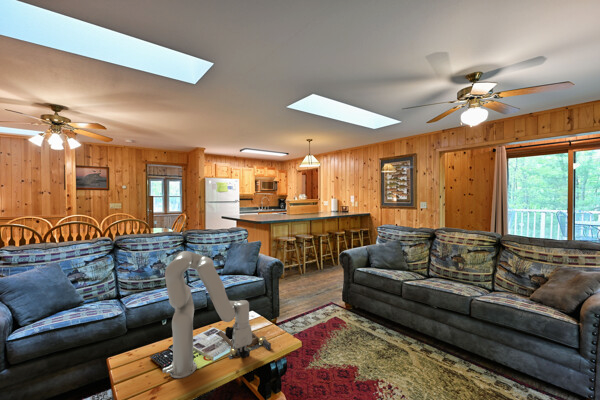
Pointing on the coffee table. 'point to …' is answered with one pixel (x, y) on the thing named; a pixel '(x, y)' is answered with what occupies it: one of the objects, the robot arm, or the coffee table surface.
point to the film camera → (229, 332)
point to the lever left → (236, 352)
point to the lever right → (264, 342)
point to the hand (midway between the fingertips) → (242, 357)
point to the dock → (254, 341)
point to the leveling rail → (248, 348)
